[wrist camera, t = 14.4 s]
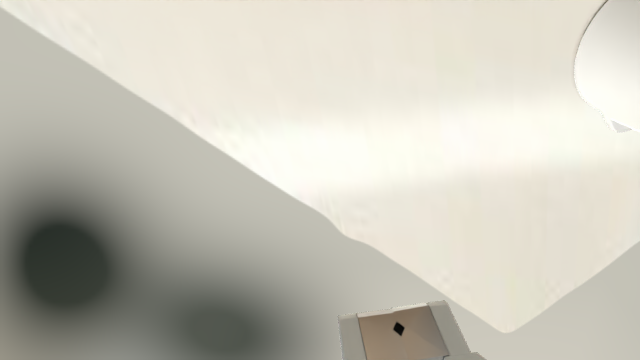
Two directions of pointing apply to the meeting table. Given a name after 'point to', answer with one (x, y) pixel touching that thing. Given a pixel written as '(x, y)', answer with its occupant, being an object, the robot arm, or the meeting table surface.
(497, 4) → the meeting table surface
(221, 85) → the meeting table surface
